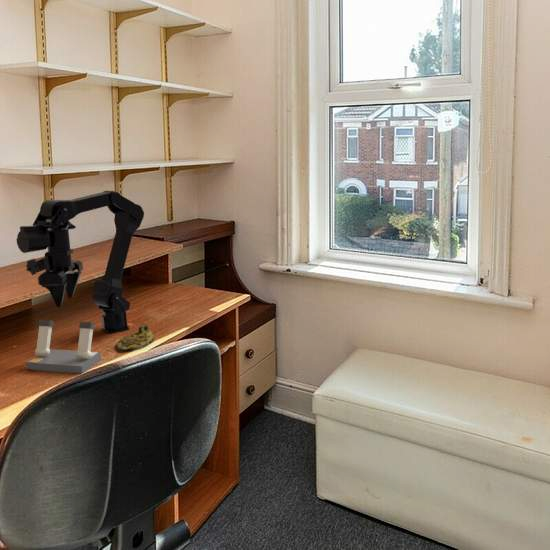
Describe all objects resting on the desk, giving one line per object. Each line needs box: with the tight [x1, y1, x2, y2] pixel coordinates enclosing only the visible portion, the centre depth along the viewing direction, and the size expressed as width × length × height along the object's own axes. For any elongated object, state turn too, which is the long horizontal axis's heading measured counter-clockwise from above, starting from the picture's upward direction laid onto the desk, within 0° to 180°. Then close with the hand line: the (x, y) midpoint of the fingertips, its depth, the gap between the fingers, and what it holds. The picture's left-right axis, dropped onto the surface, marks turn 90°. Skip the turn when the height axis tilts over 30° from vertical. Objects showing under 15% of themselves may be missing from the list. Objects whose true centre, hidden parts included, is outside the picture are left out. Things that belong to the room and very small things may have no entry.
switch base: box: [24, 348, 102, 375], centre depth 145 cm, size 9×16×2 cm, turn 77°
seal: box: [116, 322, 155, 353], centre depth 159 cm, size 9×5×15 cm
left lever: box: [34, 319, 55, 356], centre depth 146 cm, size 2×3×9 cm, turn 77°
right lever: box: [76, 321, 96, 358], centre depth 144 cm, size 2×3×9 cm, turn 77°
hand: (64, 302), depth 155 cm, fingers open, 9 cm apart
